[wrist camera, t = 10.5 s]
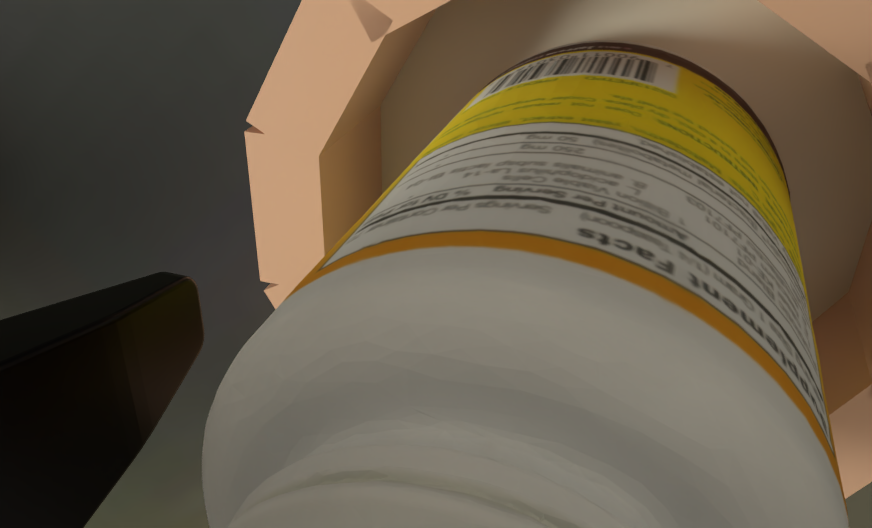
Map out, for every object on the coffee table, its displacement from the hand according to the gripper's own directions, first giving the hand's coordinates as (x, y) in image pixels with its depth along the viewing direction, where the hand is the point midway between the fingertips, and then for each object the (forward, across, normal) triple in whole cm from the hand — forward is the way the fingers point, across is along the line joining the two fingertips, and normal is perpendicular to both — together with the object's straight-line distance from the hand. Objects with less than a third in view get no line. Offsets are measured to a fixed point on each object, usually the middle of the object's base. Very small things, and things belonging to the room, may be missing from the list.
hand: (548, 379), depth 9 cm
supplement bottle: (+5, 0, 0) cm, 5 cm away
